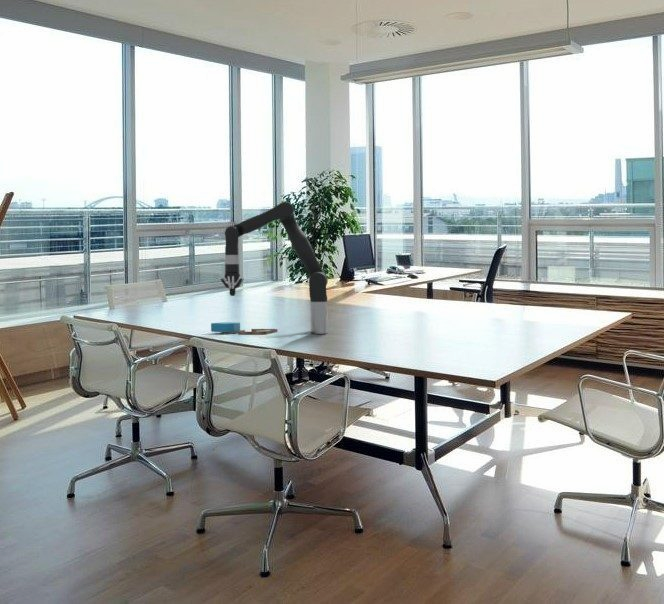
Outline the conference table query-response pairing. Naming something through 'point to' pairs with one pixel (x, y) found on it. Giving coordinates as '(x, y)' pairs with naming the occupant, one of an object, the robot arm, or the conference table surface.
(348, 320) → the conference table surface
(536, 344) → the conference table surface
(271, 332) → the brown wooden frame
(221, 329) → the data package
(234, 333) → the rubber mat
